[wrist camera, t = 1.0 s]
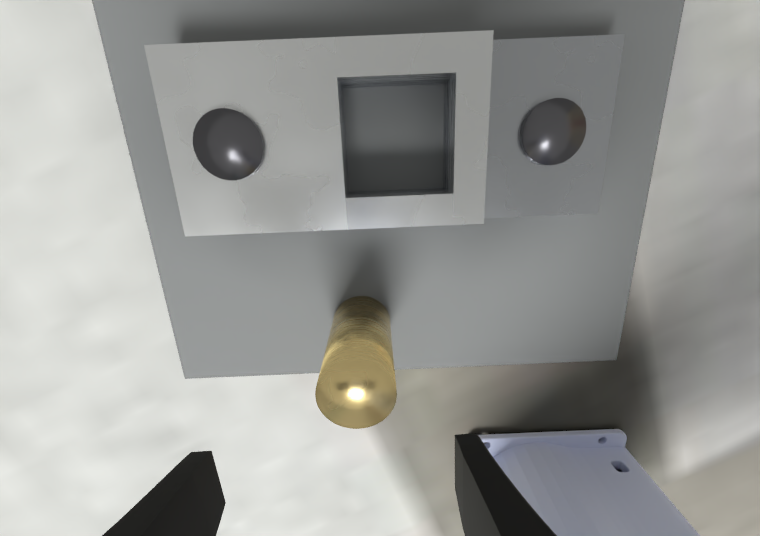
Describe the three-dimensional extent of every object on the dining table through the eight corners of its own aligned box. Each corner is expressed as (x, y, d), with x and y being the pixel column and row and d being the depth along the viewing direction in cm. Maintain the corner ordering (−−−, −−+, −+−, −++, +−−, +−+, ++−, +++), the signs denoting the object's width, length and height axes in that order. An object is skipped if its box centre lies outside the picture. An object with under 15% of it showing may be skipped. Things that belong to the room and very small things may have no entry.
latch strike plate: (605, 42, 15) (653, 20, 12) (583, 209, 17) (620, 219, 15) (178, 61, 15) (138, 42, 12) (209, 225, 17) (181, 237, 15)
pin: (389, 294, 18) (395, 358, 13) (390, 345, 19) (397, 427, 14) (331, 297, 18) (311, 362, 13) (335, 348, 19) (319, 430, 14)
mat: (680, -26, 15) (690, -32, 14) (610, 355, 20) (616, 360, 20) (99, -2, 15) (90, -7, 14) (189, 373, 20) (184, 378, 20)
